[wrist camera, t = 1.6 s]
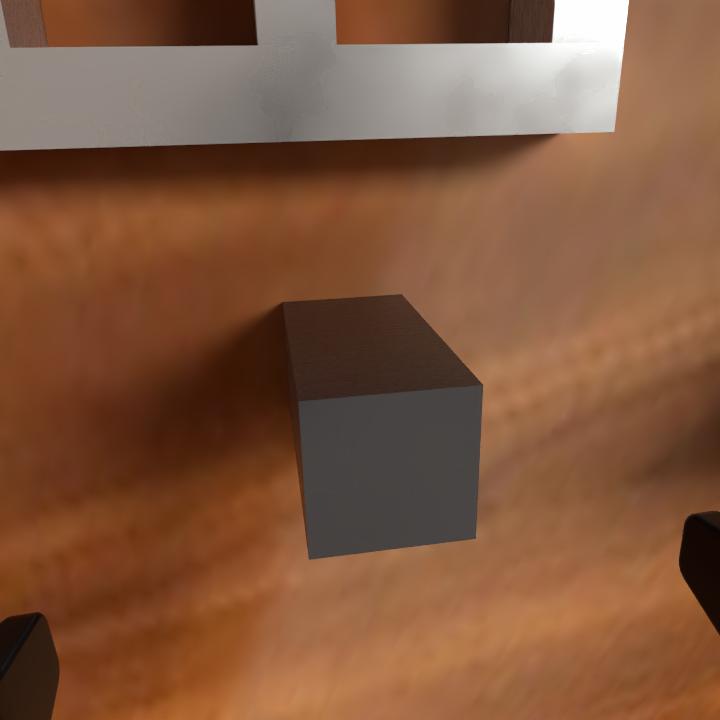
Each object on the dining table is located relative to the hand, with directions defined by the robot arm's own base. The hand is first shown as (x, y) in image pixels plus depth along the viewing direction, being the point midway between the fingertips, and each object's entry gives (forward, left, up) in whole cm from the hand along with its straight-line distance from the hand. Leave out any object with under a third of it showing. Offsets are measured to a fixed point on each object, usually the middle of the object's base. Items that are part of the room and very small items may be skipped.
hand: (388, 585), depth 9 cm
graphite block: (-1, +1, -13) cm, 13 cm away
